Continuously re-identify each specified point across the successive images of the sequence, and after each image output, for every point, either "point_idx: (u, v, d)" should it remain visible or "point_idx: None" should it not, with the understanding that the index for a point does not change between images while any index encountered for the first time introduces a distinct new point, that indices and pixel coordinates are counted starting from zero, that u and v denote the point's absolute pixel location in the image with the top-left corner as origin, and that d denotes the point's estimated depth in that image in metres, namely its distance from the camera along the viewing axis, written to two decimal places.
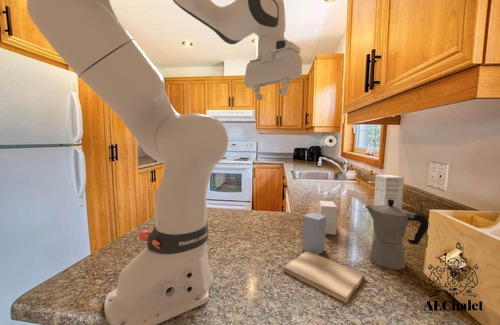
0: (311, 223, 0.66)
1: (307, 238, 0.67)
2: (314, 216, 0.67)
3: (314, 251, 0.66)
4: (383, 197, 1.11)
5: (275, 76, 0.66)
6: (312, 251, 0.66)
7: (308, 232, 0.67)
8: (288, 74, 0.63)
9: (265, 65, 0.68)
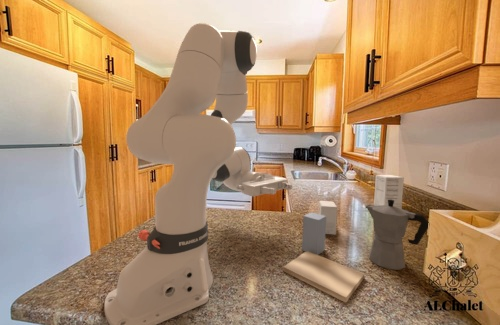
0: (311, 223, 0.66)
1: (307, 238, 0.67)
2: (314, 216, 0.67)
3: (314, 251, 0.66)
4: (383, 197, 1.11)
5: (276, 180, 0.82)
6: (312, 251, 0.66)
7: (308, 232, 0.67)
8: (284, 179, 0.84)
9: (260, 181, 0.82)
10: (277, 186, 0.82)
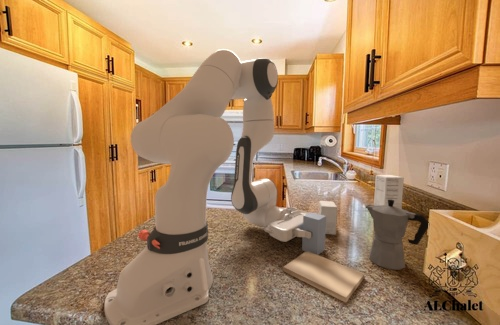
0: (311, 223, 0.66)
1: (307, 238, 0.67)
2: (314, 216, 0.67)
3: (314, 251, 0.66)
4: (383, 197, 1.11)
5: None
6: (312, 251, 0.66)
7: None
8: None
9: (288, 219, 0.74)
10: None
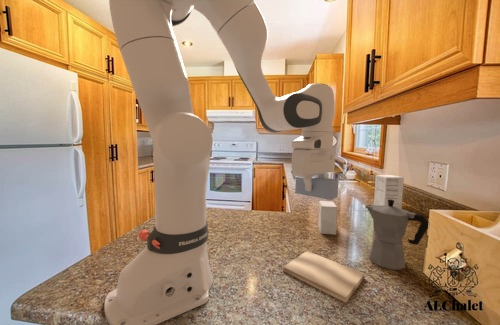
0: None
1: None
2: None
3: None
4: (383, 197, 1.11)
5: None
6: None
7: None
8: None
9: None
10: None
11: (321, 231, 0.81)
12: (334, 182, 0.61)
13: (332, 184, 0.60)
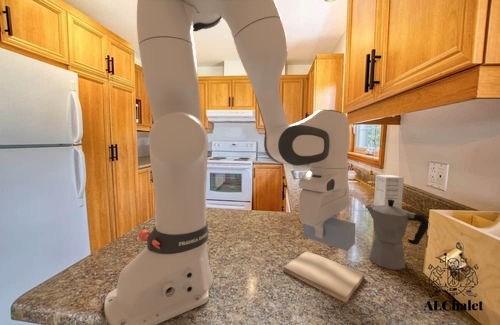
0: None
1: None
2: None
3: None
4: (383, 197, 1.11)
5: None
6: None
7: None
8: None
9: None
10: None
11: None
12: (351, 228, 0.51)
13: (349, 232, 0.50)
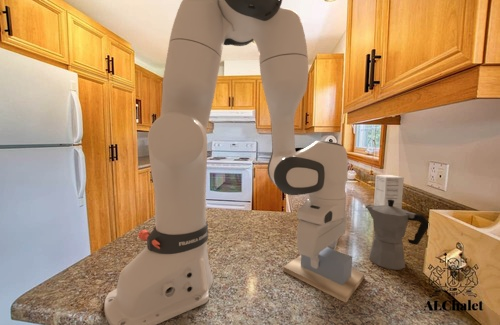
0: None
1: None
2: None
3: None
4: (383, 197, 1.11)
5: None
6: None
7: None
8: None
9: None
10: None
11: None
12: (348, 262, 0.51)
13: (345, 266, 0.50)
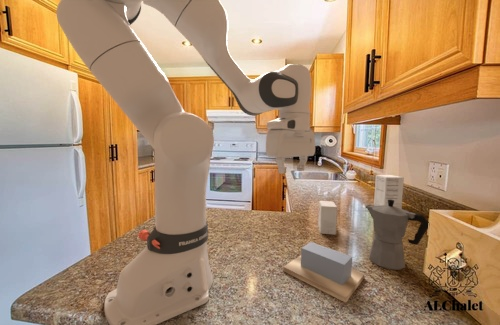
0: None
1: None
2: None
3: None
4: (383, 197, 1.11)
5: None
6: None
7: None
8: None
9: None
10: None
11: (321, 231, 0.81)
12: (348, 262, 0.51)
13: (345, 266, 0.50)
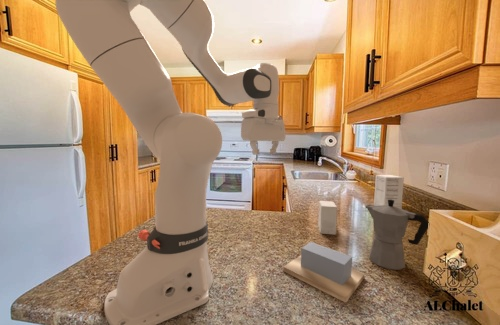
0: None
1: None
2: None
3: None
4: (383, 197, 1.11)
5: None
6: None
7: None
8: None
9: None
10: None
11: (321, 231, 0.81)
12: (348, 262, 0.51)
13: (345, 266, 0.50)
